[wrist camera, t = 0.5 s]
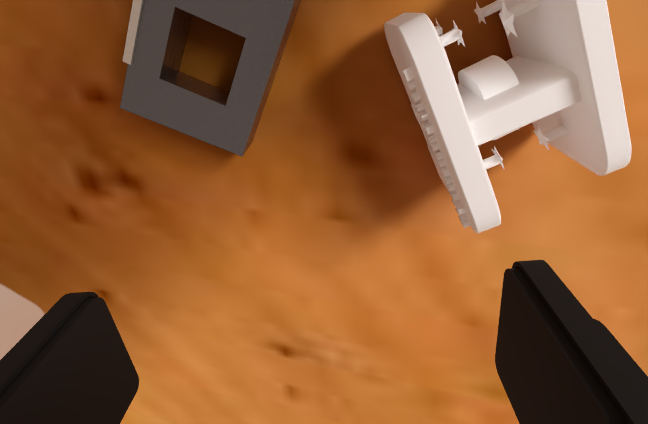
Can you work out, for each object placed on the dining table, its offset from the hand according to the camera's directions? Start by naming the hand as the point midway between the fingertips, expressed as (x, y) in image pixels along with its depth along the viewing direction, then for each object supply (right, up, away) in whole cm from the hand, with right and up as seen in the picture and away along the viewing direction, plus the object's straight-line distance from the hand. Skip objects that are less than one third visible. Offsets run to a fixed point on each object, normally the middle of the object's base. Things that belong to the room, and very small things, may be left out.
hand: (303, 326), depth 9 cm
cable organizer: (+12, +14, +24) cm, 30 cm away
